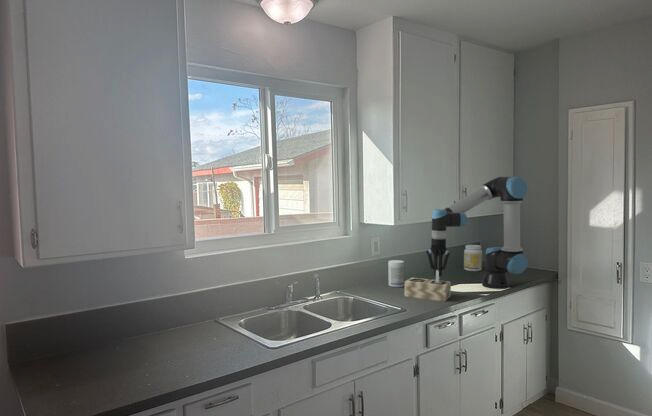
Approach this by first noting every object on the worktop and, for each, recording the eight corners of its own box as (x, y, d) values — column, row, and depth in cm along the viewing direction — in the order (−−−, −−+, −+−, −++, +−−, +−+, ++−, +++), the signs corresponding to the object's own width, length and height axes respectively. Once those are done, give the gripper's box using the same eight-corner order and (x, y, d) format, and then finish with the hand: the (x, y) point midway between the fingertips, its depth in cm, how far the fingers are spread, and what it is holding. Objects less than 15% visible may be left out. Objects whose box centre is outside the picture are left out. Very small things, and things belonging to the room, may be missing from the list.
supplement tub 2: (470, 267, 332) (471, 244, 331) (485, 270, 322) (486, 246, 321) (459, 269, 325) (460, 245, 324) (474, 272, 315) (475, 247, 314)
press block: (450, 296, 252) (450, 281, 251) (445, 301, 241) (445, 285, 240) (411, 291, 262) (411, 277, 261) (404, 296, 251) (404, 281, 251)
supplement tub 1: (407, 286, 274) (408, 261, 273) (395, 288, 269) (396, 263, 268) (396, 283, 282) (397, 259, 281) (384, 285, 277) (385, 260, 276)
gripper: (424, 238, 246) (423, 282, 248) (449, 239, 240) (448, 284, 242) (428, 236, 253) (427, 279, 255) (452, 238, 247) (451, 282, 248)
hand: (437, 282), depth 248 cm, fingers closed
